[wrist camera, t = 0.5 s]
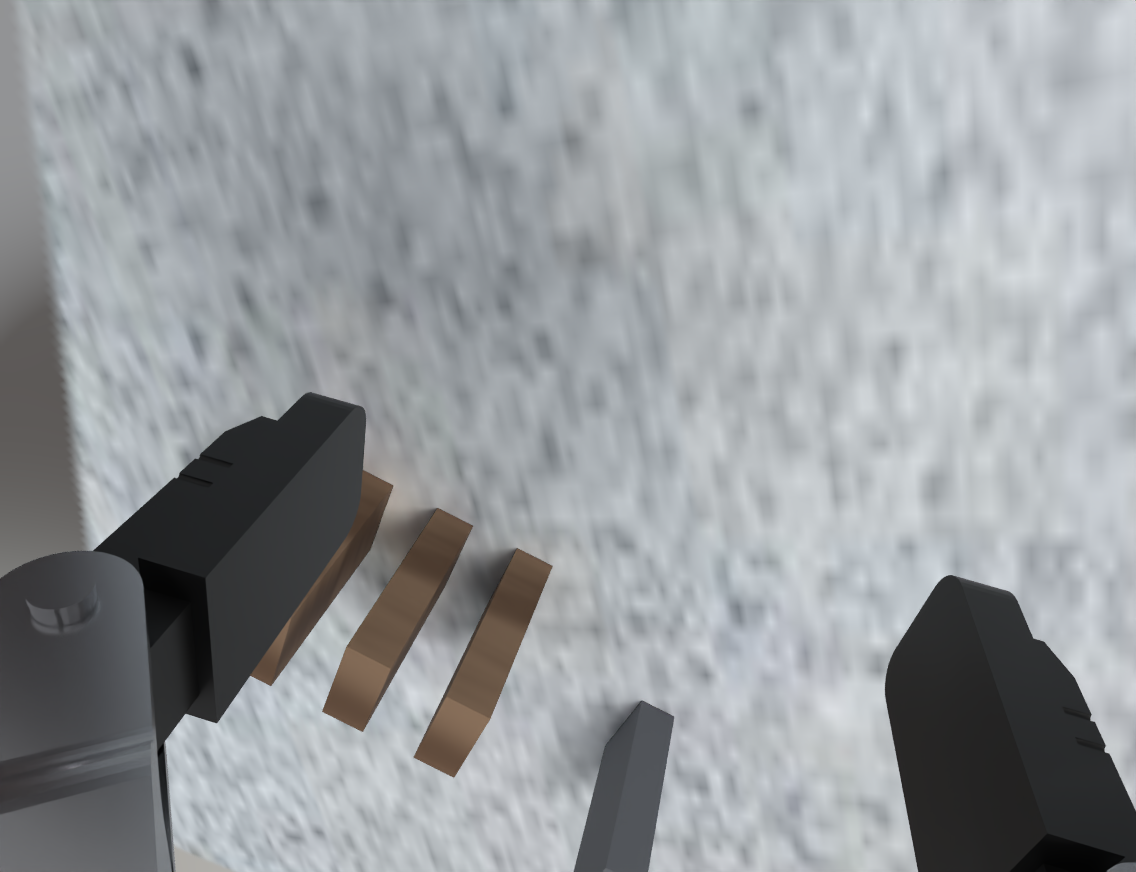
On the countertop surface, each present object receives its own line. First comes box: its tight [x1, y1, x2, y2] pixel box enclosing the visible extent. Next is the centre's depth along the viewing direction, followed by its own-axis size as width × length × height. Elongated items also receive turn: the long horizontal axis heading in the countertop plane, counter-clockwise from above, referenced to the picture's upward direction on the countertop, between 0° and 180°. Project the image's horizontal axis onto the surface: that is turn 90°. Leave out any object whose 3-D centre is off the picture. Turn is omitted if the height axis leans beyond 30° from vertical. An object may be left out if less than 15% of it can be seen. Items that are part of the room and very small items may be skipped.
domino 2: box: [322, 508, 473, 732], centre depth 37 cm, size 5×2×10 cm, turn 157°
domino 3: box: [414, 548, 552, 777], centre depth 37 cm, size 5×2×10 cm, turn 158°
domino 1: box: [250, 471, 393, 686], centre depth 37 cm, size 5×2×10 cm, turn 158°
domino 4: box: [574, 701, 674, 872], centre depth 40 cm, size 5×2×10 cm, turn 157°
